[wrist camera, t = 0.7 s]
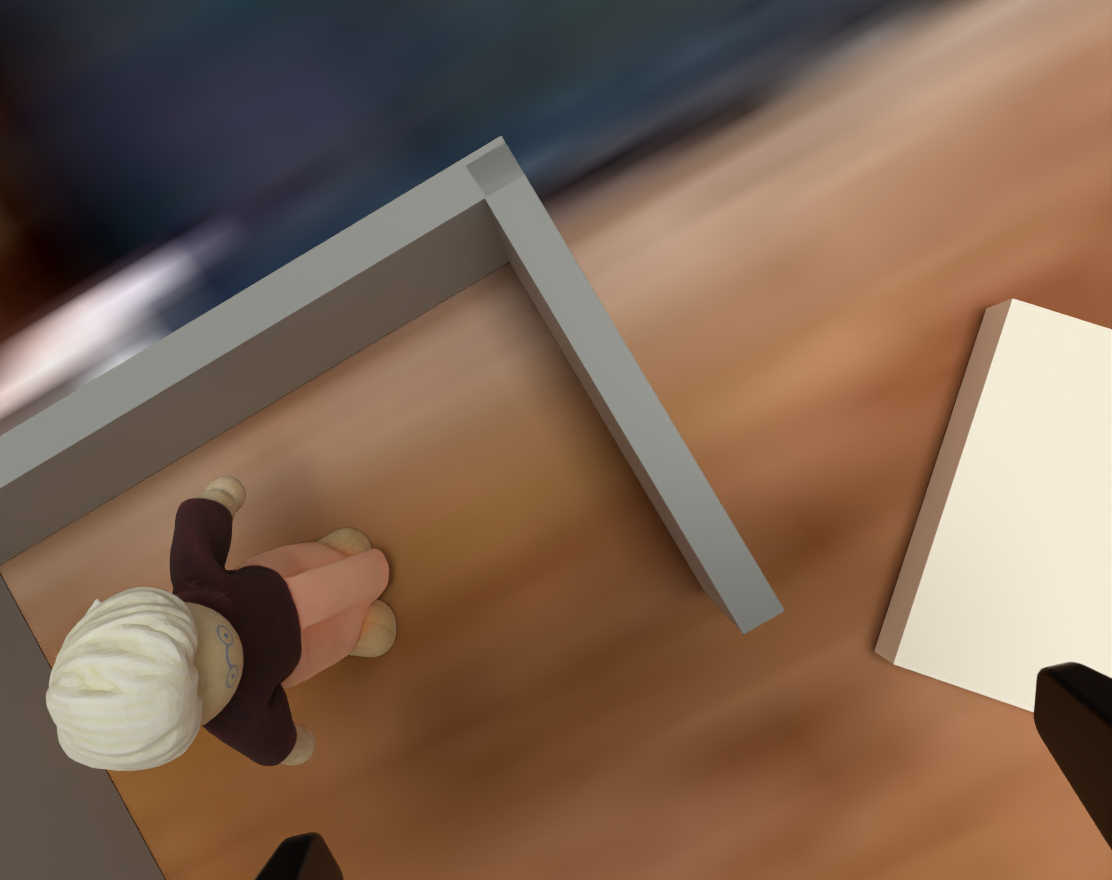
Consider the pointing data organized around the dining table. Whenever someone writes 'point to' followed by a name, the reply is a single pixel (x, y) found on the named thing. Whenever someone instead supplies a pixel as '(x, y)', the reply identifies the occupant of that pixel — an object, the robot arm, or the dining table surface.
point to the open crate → (264, 377)
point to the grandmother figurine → (217, 644)
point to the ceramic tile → (1015, 515)
